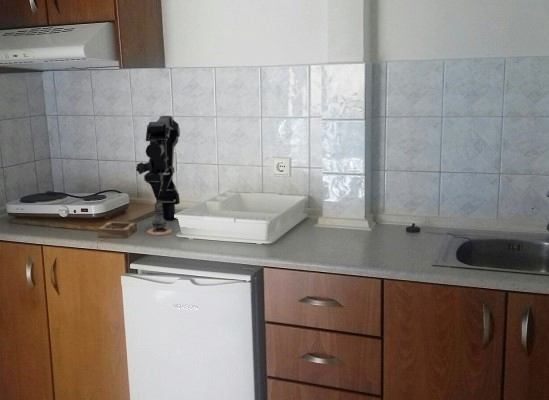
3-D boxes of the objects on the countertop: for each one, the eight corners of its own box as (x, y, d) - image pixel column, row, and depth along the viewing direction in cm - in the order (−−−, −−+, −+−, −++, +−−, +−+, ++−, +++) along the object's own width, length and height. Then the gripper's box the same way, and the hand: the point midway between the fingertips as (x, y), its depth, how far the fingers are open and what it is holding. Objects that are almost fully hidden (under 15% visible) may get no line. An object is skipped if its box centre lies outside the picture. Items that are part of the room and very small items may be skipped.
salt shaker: (165, 232, 231) (164, 201, 228) (150, 232, 231) (148, 201, 228) (168, 228, 236) (167, 198, 234) (153, 228, 236) (152, 198, 234)
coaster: (152, 228, 238) (151, 227, 238) (174, 229, 237) (174, 227, 237) (144, 234, 230) (144, 233, 230) (167, 235, 229) (167, 234, 228)
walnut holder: (109, 229, 238) (109, 221, 237) (136, 230, 236) (136, 222, 236) (97, 237, 227) (97, 229, 226) (126, 238, 226) (126, 230, 225)
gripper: (146, 151, 243) (148, 189, 247) (129, 158, 225) (131, 200, 229) (174, 151, 242) (175, 190, 245) (159, 159, 224) (160, 200, 227)
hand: (160, 195), depth 237 cm, fingers open, 9 cm apart
